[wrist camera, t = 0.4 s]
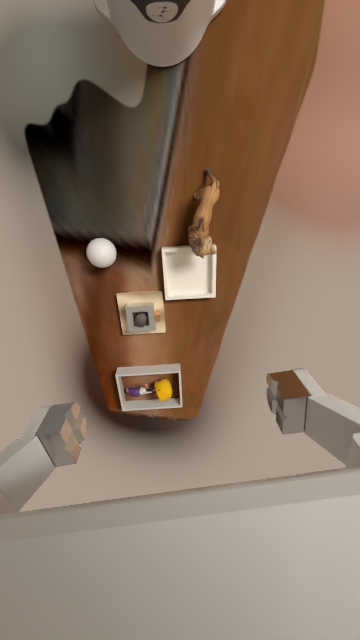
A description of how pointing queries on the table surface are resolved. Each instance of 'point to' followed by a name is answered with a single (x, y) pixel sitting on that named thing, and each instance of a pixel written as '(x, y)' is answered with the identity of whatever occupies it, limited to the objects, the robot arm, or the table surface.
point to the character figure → (161, 389)
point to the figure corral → (147, 371)
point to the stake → (141, 316)
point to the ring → (142, 307)
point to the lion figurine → (203, 219)
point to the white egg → (101, 252)
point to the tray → (188, 273)
